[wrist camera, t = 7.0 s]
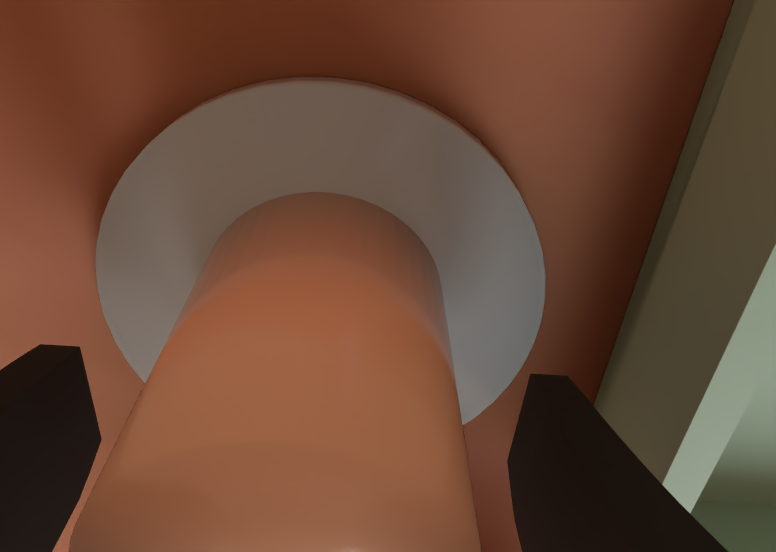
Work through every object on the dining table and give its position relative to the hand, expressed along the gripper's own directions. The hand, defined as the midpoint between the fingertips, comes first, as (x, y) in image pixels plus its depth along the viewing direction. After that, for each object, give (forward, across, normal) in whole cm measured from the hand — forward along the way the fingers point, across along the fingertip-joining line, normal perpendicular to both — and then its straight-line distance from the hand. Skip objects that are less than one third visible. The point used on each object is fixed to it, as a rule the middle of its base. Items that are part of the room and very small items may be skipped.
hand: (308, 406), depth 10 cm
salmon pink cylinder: (+3, 0, 0) cm, 3 cm away
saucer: (+3, 0, 0) cm, 3 cm away
